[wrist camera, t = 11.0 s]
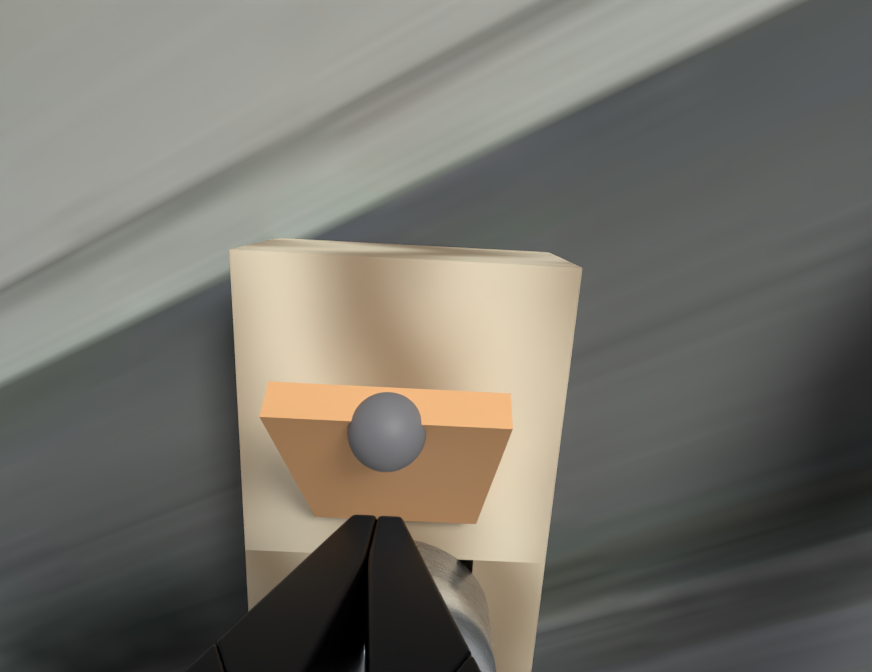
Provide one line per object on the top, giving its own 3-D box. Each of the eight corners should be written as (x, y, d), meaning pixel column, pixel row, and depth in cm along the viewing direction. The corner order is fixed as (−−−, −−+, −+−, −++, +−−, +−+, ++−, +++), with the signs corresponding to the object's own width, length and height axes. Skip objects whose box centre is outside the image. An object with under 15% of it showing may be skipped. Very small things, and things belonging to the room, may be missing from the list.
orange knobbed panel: (475, 498, 16) (476, 551, 15) (319, 491, 16) (310, 544, 15) (513, 383, 10) (518, 460, 9) (263, 371, 10) (243, 447, 9)
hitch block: (548, 252, 19) (582, 268, 14) (509, 609, 23) (526, 704, 18) (277, 238, 19) (229, 249, 14) (288, 599, 23) (252, 693, 18)
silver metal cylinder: (485, 478, 21) (515, 645, 13) (473, 612, 22) (493, 830, 15) (323, 470, 21) (254, 634, 13) (324, 605, 22) (263, 821, 14)
